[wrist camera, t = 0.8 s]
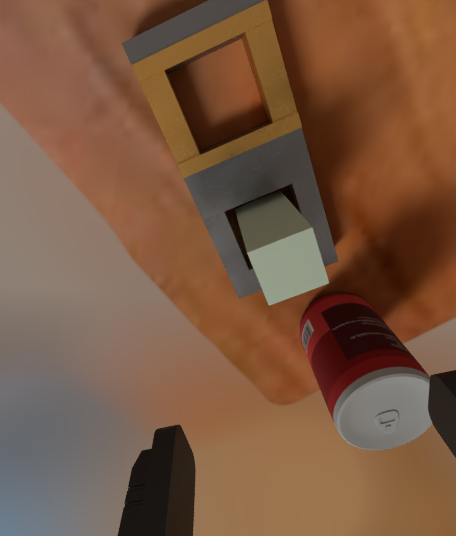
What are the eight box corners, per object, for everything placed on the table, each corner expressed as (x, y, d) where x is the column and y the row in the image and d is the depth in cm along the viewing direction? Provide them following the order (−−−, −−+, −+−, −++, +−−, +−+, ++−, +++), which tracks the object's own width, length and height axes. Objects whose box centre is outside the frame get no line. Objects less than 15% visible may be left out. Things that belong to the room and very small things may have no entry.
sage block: (280, 190, 27) (312, 227, 19) (294, 232, 28) (329, 283, 20) (234, 209, 27) (247, 252, 19) (251, 249, 29) (268, 305, 21)
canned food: (319, 365, 36) (362, 464, 26) (282, 315, 32) (316, 408, 23) (384, 330, 34) (457, 422, 24) (352, 275, 31) (422, 355, 21)
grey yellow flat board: (254, -14, 21) (260, -27, 19) (330, 251, 29) (339, 262, 28) (128, 48, 22) (120, 42, 20) (237, 287, 31) (239, 299, 29)
